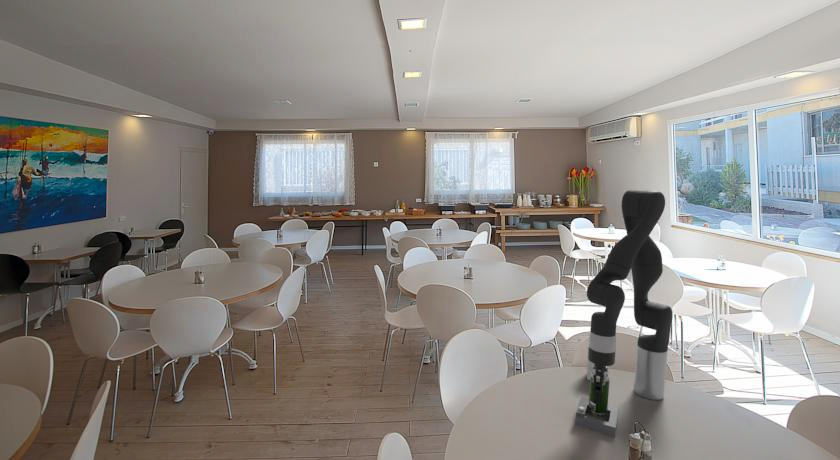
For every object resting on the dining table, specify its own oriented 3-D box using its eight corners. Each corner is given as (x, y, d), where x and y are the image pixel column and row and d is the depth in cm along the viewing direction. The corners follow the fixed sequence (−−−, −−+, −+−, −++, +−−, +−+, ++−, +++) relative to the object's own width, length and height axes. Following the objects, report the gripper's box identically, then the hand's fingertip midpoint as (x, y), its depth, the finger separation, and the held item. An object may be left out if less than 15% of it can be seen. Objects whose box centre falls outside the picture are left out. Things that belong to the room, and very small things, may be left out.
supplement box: (609, 376, 152) (611, 345, 150) (607, 384, 145) (609, 352, 144) (588, 371, 155) (590, 341, 154) (586, 379, 149) (588, 347, 148)
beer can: (600, 417, 118) (603, 380, 117) (584, 409, 123) (587, 372, 121) (610, 412, 121) (613, 375, 120) (594, 403, 126) (597, 368, 124)
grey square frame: (580, 408, 130) (581, 393, 129) (617, 418, 124) (618, 403, 124) (575, 425, 120) (576, 410, 120) (615, 437, 115) (616, 421, 114)
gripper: (613, 358, 111) (609, 413, 113) (617, 341, 124) (613, 391, 126) (585, 352, 115) (582, 406, 117) (591, 336, 127) (588, 385, 129)
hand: (598, 398), depth 121 cm, fingers closed on beer can, 5 cm apart
